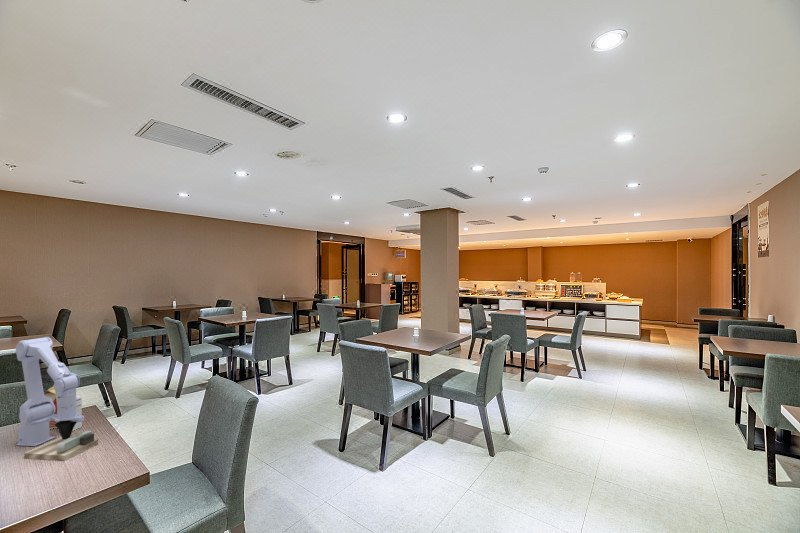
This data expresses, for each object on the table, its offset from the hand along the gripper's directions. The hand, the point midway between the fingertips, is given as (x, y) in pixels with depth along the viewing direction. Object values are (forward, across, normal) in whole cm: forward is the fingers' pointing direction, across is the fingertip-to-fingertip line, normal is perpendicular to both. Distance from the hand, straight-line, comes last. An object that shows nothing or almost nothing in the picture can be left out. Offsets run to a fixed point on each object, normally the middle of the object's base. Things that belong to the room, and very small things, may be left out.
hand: (66, 438), depth 148 cm
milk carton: (+4, -28, +18) cm, 34 cm away
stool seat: (+4, +1, -2) cm, 5 cm away
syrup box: (+4, -16, +15) cm, 23 cm away
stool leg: (+2, +6, -2) cm, 6 cm away
